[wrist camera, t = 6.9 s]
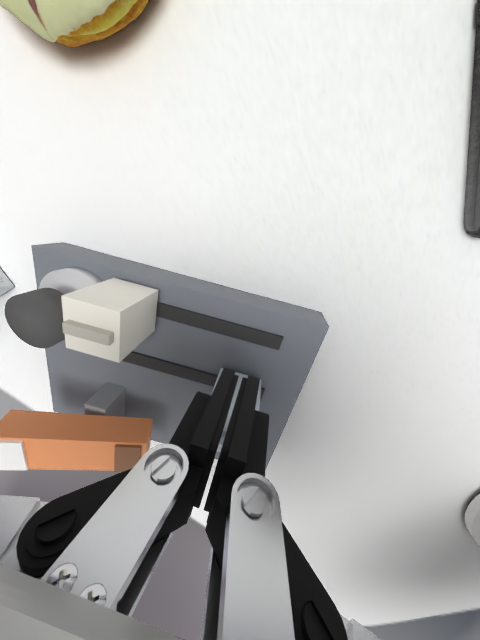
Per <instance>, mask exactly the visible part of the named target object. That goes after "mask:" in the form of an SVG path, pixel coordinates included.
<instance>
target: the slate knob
mask: <svg viewBox="0 0 480 640" xmlns="http://www.w3.org/2000/svg"><path fill="white" fill-rule="evenodd" d="M222 371H223V368H221V369H220V371H219V374H218V377H217V380H216V382H215V385H214V388H213V391H214V389H215V386H216V384H217V382H218V380H219V377H220V375H221V373H222ZM235 375H238V376H239V378H238V381H237V385H236V388H235V392H234V395H233V398H232V402H231V405H230V409H229V412H228V415H227V419H226V422H225V426H224V429H223V432H222V435H221V439H220V442H219V445H218V448H217V452H221V449H222V445H223V442H224V438H225V435H226V431H227V428H228V425H229V421H230V418H231V415H232V411H233V408H234V405H235V401H236V398H237V395H238V391H239V388H240V385H241V381H242V378H243V377H245V378H248V375H244V374H241V373H237V372H235ZM261 380H262V379H260V382H259V389H258V395H257V401H256V407H255V410H257V411H259V408H260V394H261ZM213 391H212V393H213ZM211 395H212V394H211Z"/></svg>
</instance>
